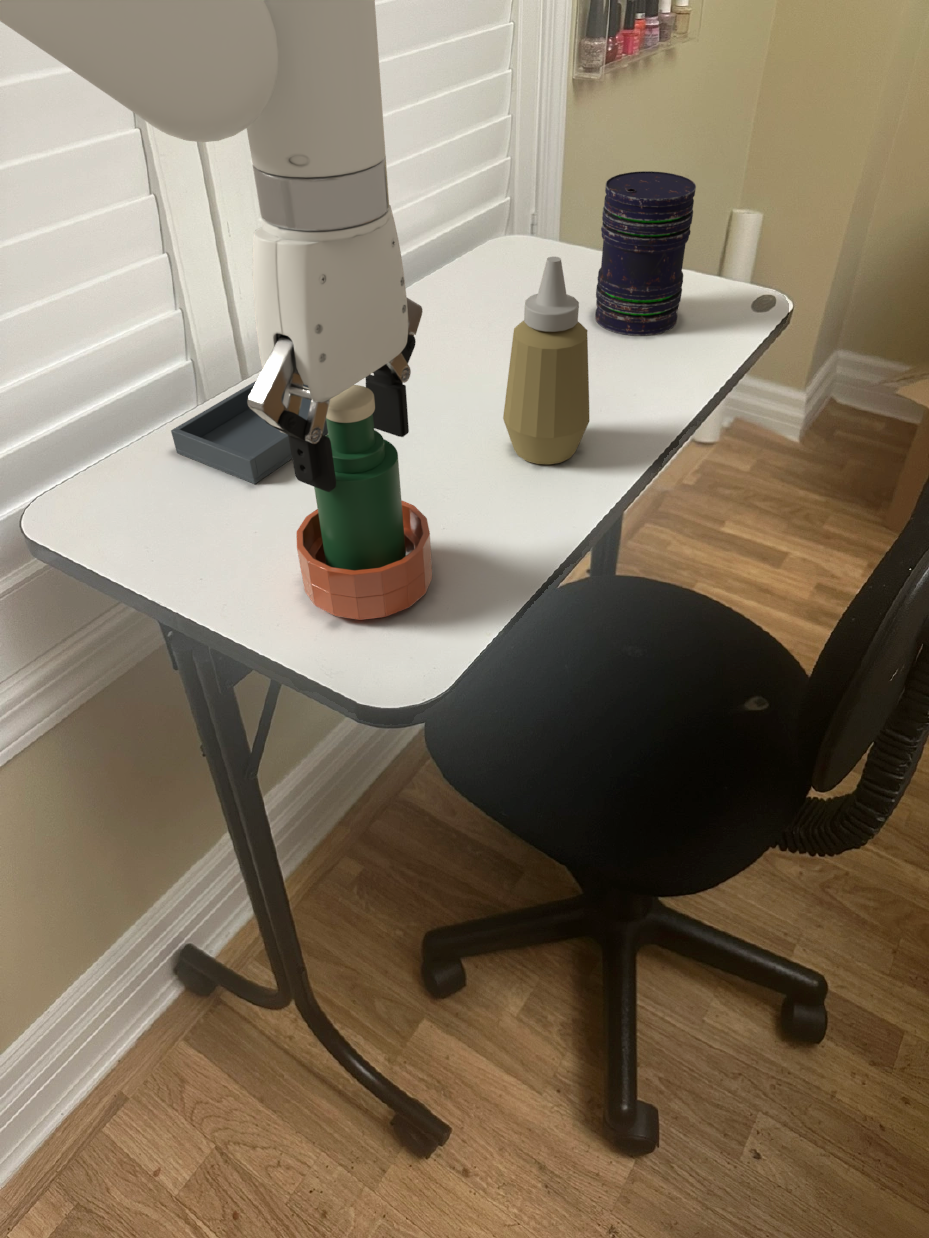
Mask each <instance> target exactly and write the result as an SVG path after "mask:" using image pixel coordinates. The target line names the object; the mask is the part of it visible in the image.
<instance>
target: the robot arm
mask: <svg viewBox="0 0 929 1238" xmlns="http://www.w3.org/2000/svg"><path fill="white" fill-rule="evenodd" d="M376 13H377V12H376V0H0V23H2V24H3V25H5V26H7V27H8V28H10V29H11V30H13V31H14V32H15V33H17V34H19V35H20V36H21V37H23V38H24V39H26V40H27V41H29V42H30V43H32V44H33V45H34V46H36V47H38V48H39V49H40V50H42V51H43V52H45V53H46V54H48V55H49V56H50V57H52V58H53V59H55V60H57V61H58V62H59V63H61V64H62V65H64V66H65V67H67V68H68V69H69V70H71V71H72V72H74V73H75V74H77V75H78V76H80V77H81V78H82V79H84V80H86V81H87V82H88V83H90V84H91V85H93V86H94V87H96V88H97V89H99V90H100V91H102V92H103V93H105V94H106V95H108V96H109V97H110V98H112V99H113V100H115V101H116V102H117V103H119V104H121V105H122V106H124V108H126V109H127V110H129V111H131V112H132V113H133V114H135V115H136V116H138V117H139V118H141V119H142V120H143V121H145V122H146V123H148V124H149V125H150V126H152V127H153V128H155V129H157V130H159V131H160V132H162V133H164V134H166V135H168V136H170V137H174V138H177V139H179V140H183V141H188V142H196V143H209V142H210V143H211V142H219V141H222V140H225V139H228V138H232V137H235V136H236V135H238V134H240V133H242V132H243V131H245V130H246V134H247V138H248V144H249V151H250V157H251V162H252V171H253V177H254V183H255V189H256V196H257V202H258V208H259V214H260V219H261V220H260V221H261V226H260V227H259V228H257V229H255V230H254V231H253V239H252V258H251V259H252V261H251V265H252V266H251V267H252V269H251V270H252V271H251V275H252V296H253V297H252V298H253V310H254V319H255V328H256V337H257V345H258V346H257V347H258V352H259V358H260V365H261V372H260V373H259V376H258V377H257V379H256V380H257V381H256V380H255V381H256V383H255V385H254V387H253V389H252V391H251V393H250V395H249V397H248V401H247V403H248V406H249V408H250V409H252V410H253V411H254V412H255V413H256V414H258V415H259V416H260V417H261V418H262V419H265V422H266V423H267V424H269V425H270V426H272V427H274V428H276V429H278V430H279V431H280V432H282V433H285V434H287V435H288V437H289V443H290V449H291V455H292V459H291V460H292V466H293V471H294V476H295V478H296V480H297V481H298V482H301V483H304V484H306V485H309V486H311V487H313V488H314V487H316V488H319V489H321V490H324V491H327V492H330V491H332V490H333V489H334V488H335V487H336V477H335V470H334V462H333V455H332V447H331V441H330V438H328V437H327V435H326V436H324V435H322V434H323V429H324V425H325V421H326V416H327V412H328V407H329V403H330V399H331V398H333V397H335V396H337V395H338V394H340V393H342V392H343V391H345V390H346V389H348V388H350V387H351V386H353V385H357V383H360V381H363V380H364V379H365V387H366V388H368V389H370V390H371V391H372V392H373V394H374V401H375V410H374V412H373V421H374V430H377V431H381V432H383V433H387V434H390V435H393V436H396V437H400V438H404V437H405V436H407V435H408V434H409V433H410V427H409V415H408V414H409V413H408V398H407V385H405V384H404V383H407V382H408V381H409V380H410V377H411V373H412V369H411V367H410V365H409V362H410V359H411V357H412V355H413V352H414V350H415V347H416V337H415V336H417V333H418V329H419V326H420V323H421V320H422V316H423V313H424V312H423V306H422V305H420V304H418V303H417V302H415V301H414V300H412V299H411V298H409V297H407V287H406V279H405V273H404V265H403V258H402V252H401V246H400V241H399V235H398V231H397V227H396V221H395V217H394V214H393V210H392V207H391V205H390V197H389V182H388V168H387V155H386V142H385V128H384V115H383V100H382V98H383V97H382V83H381V69H380V57H379V56H380V55H379V43H378V40H379V39H378V29H377V27H378V26H377V14H376ZM303 384H304V385H308V388H307V387H304V386H303ZM284 391H285V394H284V398H283V403H282V395H283V393H284ZM302 398H305V399H308V400H311V404H310V409H309V413H308V417H307V420H306V419H304V418H302V417H301V416H299V411H300V407H301V402H302Z"/></svg>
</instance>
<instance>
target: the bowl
mask: <svg viewBox="0 0 929 1238" xmlns="http://www.w3.org/2000/svg"><path fill="white" fill-rule="evenodd" d="M402 513H403V526H404V539H405V551H406V556H405V557H404V558H403V559H402V560H399V561H396V562H394V563H391V564H388V565H386V566H383V567H380V568H373V569H364V570H348V569H341V568H334V567H330V566H328V565H326V560H325V553H324V547H323V541H322V534H321V528H320V521H319V515H318V508H316V509H315V510H314V511H312V512H311V513H309V514H308V515H306V516H305V517H304V519H303V520H302V522H301V524H300V525H299V527H298V528H297V530H296V550H297V551H296V552H297V554H298V555H297V556H298V562H299V567H300V572H301V578H302V583H303V590H304V593H305V594H306V595H307V597H308V598H309V599H310V601H311V602H312V603H313V606H315V607H317V608H318V609H320V610H323V611H325V612H327V613H328V614H330V615H332V616H335V617H338V618H345V619H351V620H358V621H359V620H370V619H379V618H386V617H389V616H392V615H394V614H396V613H399V612H401V611H404V610H407V609H409V608H411V607H412V606H413V605H414V604H416V602H417V601H419V600H420V599H421V598H422V597H423V596H425V595H426V593H427V592H428V589H429V586H430V585H431V582H432V579H433V562H432V546H431V544H432V543H431V531H430V527H429V522H428V518H427V517H426V516H425V515H424V513H422V512H421V511H420V510H419V509H418V507H417V506H415V505H414V504H411V503H410V502H407V501H404V500H402Z"/></svg>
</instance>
